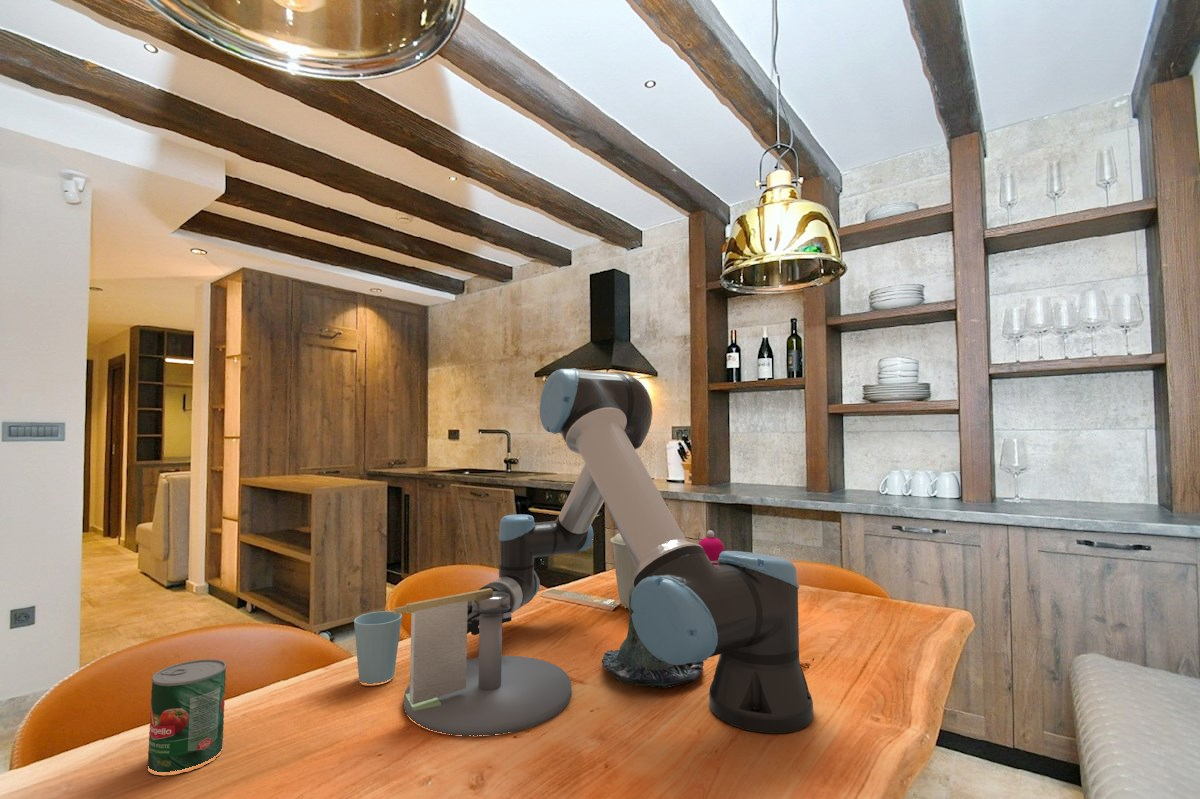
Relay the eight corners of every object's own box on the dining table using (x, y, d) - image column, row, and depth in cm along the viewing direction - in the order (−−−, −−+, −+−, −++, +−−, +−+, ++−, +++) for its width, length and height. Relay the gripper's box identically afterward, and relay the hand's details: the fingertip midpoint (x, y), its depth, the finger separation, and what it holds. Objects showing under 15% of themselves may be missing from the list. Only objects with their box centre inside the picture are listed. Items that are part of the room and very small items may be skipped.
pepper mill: (725, 614, 135) (724, 528, 136) (729, 624, 128) (728, 533, 129) (694, 613, 136) (693, 527, 137) (696, 623, 128) (695, 532, 130)
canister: (601, 615, 135) (601, 524, 136) (620, 595, 152) (620, 514, 153) (678, 622, 129) (677, 527, 131) (689, 601, 147) (688, 517, 148)
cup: (345, 691, 94) (348, 625, 94) (358, 672, 101) (361, 611, 102) (394, 688, 95) (396, 623, 95) (403, 670, 102) (405, 610, 103)
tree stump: (715, 660, 108) (714, 571, 105) (690, 735, 90) (688, 630, 87) (624, 642, 115) (620, 558, 112) (583, 708, 97) (578, 610, 94)
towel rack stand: (496, 668, 96) (497, 582, 97) (516, 680, 92) (516, 589, 93) (384, 701, 84) (386, 602, 85) (400, 716, 80) (402, 611, 81)
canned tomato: (236, 742, 78) (239, 658, 78) (197, 776, 70) (201, 682, 71) (175, 743, 77) (180, 659, 78) (130, 777, 69) (135, 683, 70)
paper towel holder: (597, 714, 86) (597, 627, 87) (415, 753, 75) (417, 654, 76) (540, 655, 109) (540, 588, 110) (395, 679, 98) (397, 604, 99)
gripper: (527, 622, 113) (471, 668, 91) (467, 617, 117) (398, 660, 94) (527, 583, 114) (472, 619, 91) (467, 579, 117) (399, 613, 94)
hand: (435, 640), depth 92 cm, fingers closed
